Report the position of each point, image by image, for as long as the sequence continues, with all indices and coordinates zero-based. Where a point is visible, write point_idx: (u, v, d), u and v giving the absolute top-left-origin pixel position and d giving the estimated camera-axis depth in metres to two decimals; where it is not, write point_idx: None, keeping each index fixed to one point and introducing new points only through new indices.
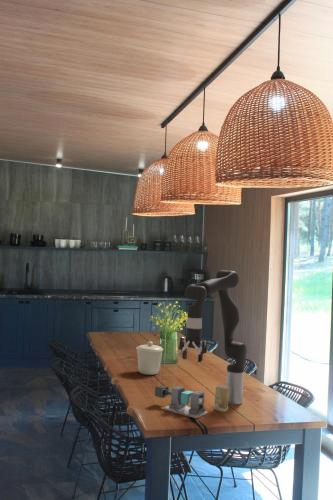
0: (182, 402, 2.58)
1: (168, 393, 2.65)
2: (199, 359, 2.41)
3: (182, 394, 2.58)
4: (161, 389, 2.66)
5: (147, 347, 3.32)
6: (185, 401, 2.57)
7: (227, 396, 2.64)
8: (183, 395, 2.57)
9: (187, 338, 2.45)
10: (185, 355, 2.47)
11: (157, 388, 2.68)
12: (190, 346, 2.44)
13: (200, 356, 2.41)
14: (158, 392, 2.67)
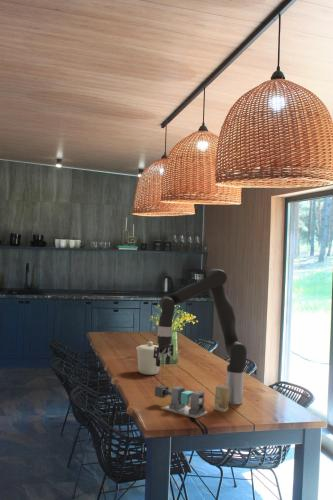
0: (182, 402, 2.58)
1: (168, 393, 2.65)
2: (169, 361, 2.73)
3: (182, 394, 2.58)
4: (161, 389, 2.66)
5: (147, 347, 3.32)
6: (185, 401, 2.57)
7: (227, 396, 2.64)
8: (183, 395, 2.57)
9: (162, 346, 2.67)
10: None
11: (157, 388, 2.68)
12: (164, 353, 2.69)
13: (169, 358, 2.73)
14: (158, 392, 2.67)
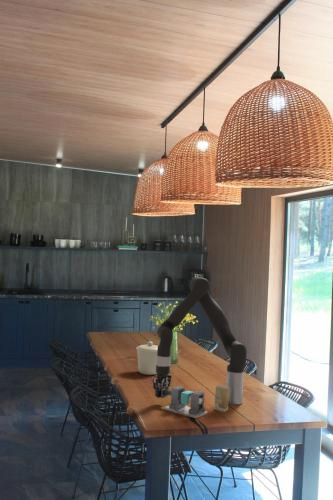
0: (182, 402, 2.58)
1: (168, 393, 2.65)
2: None
3: (182, 394, 2.58)
4: (161, 389, 2.66)
5: (147, 347, 3.32)
6: (185, 401, 2.57)
7: (227, 396, 2.64)
8: (183, 395, 2.57)
9: (160, 376, 2.66)
10: None
11: None
12: (163, 381, 2.68)
13: None
14: None
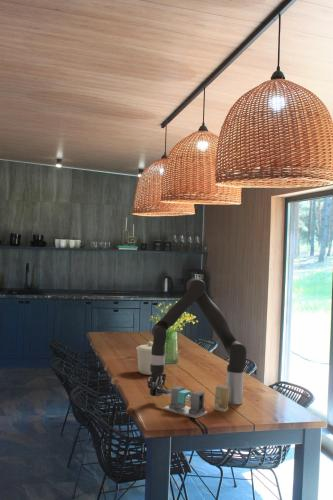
0: (179, 401, 2.59)
1: (162, 392, 2.67)
2: None
3: (179, 393, 2.59)
4: (156, 388, 2.68)
5: (147, 347, 3.32)
6: (181, 400, 2.58)
7: (227, 396, 2.64)
8: (180, 394, 2.58)
9: (155, 375, 2.68)
10: None
11: None
12: (158, 380, 2.71)
13: None
14: None
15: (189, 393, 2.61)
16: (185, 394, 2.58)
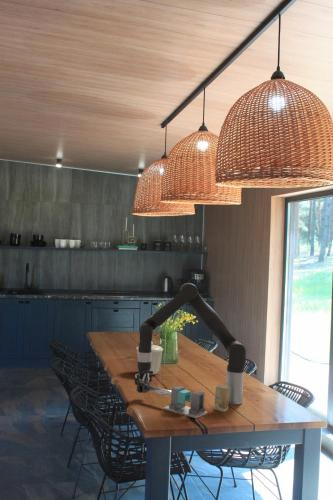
0: (179, 401, 2.59)
1: (149, 388, 2.72)
2: None
3: (179, 393, 2.59)
4: (142, 384, 2.73)
5: None
6: (181, 400, 2.58)
7: (227, 396, 2.64)
8: (180, 394, 2.58)
9: (142, 372, 2.74)
10: None
11: None
12: (145, 377, 2.76)
13: None
14: None
15: (189, 393, 2.61)
16: (185, 394, 2.58)
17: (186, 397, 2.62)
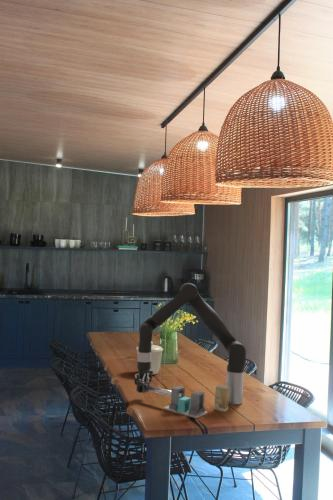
0: (178, 408, 2.59)
1: (149, 388, 2.72)
2: None
3: (178, 400, 2.59)
4: (142, 384, 2.74)
5: None
6: (181, 407, 2.58)
7: (227, 396, 2.64)
8: (179, 401, 2.58)
9: (141, 371, 2.74)
10: None
11: None
12: (144, 377, 2.76)
13: None
14: None
15: (189, 400, 2.61)
16: (185, 401, 2.58)
17: (186, 404, 2.62)
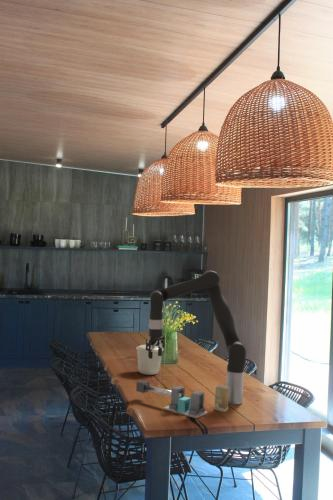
0: (178, 408, 2.59)
1: (149, 388, 2.72)
2: (161, 353, 2.82)
3: (178, 400, 2.59)
4: (142, 384, 2.74)
5: None
6: (181, 407, 2.58)
7: (227, 396, 2.64)
8: (179, 401, 2.58)
9: (154, 339, 2.76)
10: None
11: (138, 383, 2.75)
12: (156, 345, 2.77)
13: (161, 350, 2.82)
14: (139, 387, 2.75)
15: (189, 400, 2.61)
16: (185, 401, 2.58)
17: (186, 404, 2.62)
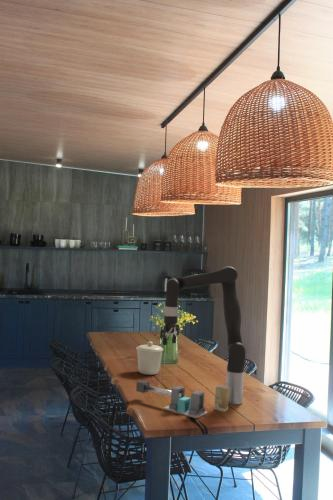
0: (178, 408, 2.59)
1: (149, 388, 2.72)
2: (175, 340, 2.84)
3: (178, 400, 2.59)
4: (142, 384, 2.74)
5: (147, 347, 3.32)
6: (181, 407, 2.58)
7: (227, 396, 2.64)
8: (179, 401, 2.58)
9: (169, 326, 2.78)
10: None
11: (138, 383, 2.75)
12: (170, 332, 2.80)
13: (175, 338, 2.84)
14: (139, 387, 2.75)
15: (189, 400, 2.61)
16: (185, 401, 2.58)
17: (186, 404, 2.62)
